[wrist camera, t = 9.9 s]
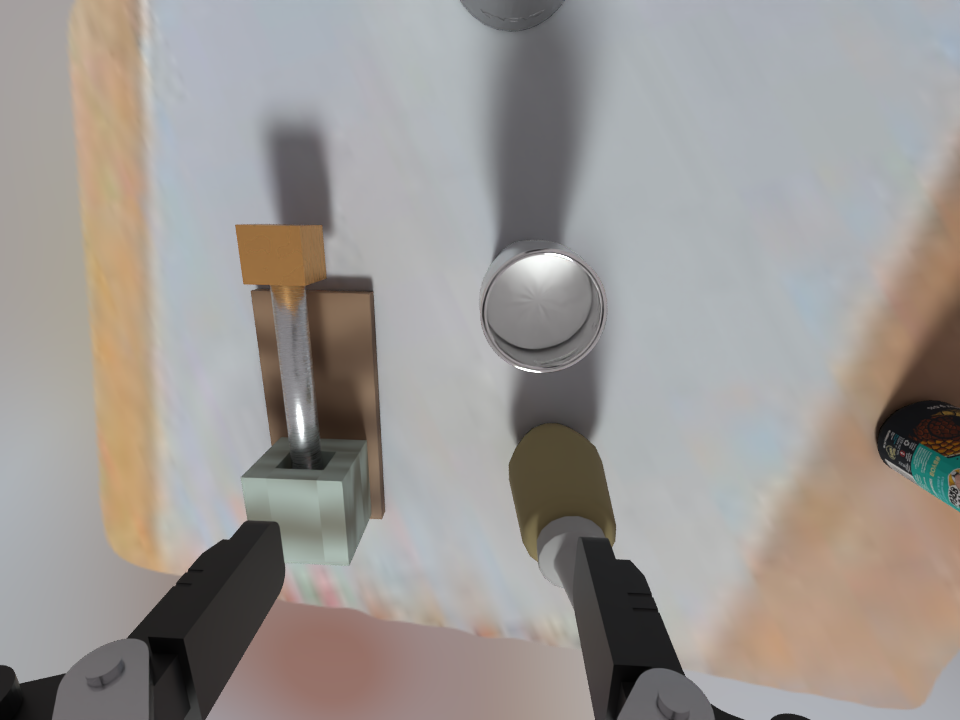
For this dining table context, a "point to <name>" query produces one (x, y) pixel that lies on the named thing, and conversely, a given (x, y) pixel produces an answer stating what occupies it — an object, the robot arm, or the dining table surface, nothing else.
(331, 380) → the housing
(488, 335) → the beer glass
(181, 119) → the dining table surface
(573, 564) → the squeeze bottle
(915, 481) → the beverage can
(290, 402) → the shaft
